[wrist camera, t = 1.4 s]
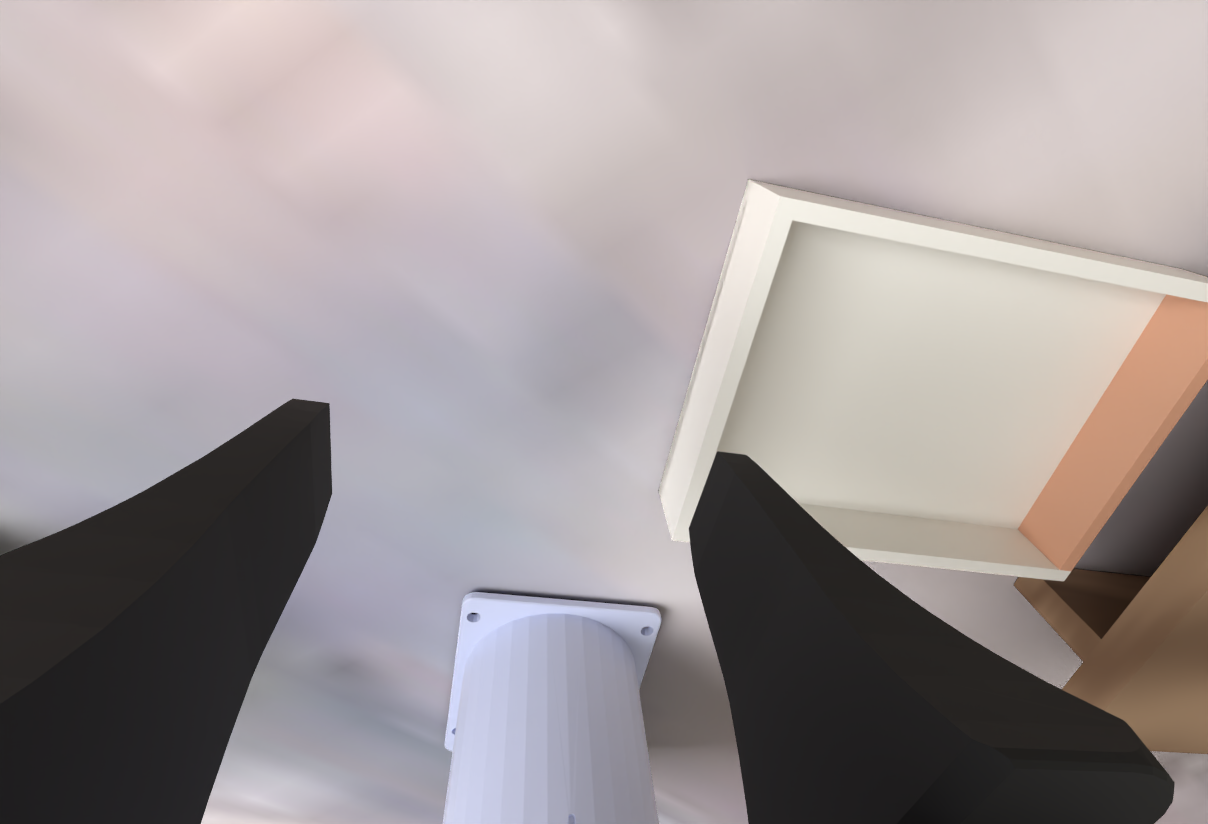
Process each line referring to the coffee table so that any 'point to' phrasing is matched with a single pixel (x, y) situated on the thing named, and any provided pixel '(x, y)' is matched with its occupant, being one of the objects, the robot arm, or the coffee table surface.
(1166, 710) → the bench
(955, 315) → the white open tray
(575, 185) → the coffee table surface
